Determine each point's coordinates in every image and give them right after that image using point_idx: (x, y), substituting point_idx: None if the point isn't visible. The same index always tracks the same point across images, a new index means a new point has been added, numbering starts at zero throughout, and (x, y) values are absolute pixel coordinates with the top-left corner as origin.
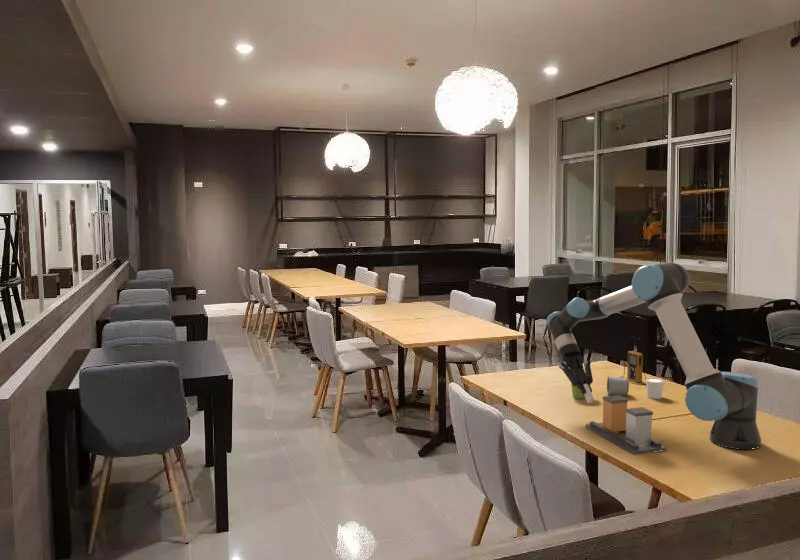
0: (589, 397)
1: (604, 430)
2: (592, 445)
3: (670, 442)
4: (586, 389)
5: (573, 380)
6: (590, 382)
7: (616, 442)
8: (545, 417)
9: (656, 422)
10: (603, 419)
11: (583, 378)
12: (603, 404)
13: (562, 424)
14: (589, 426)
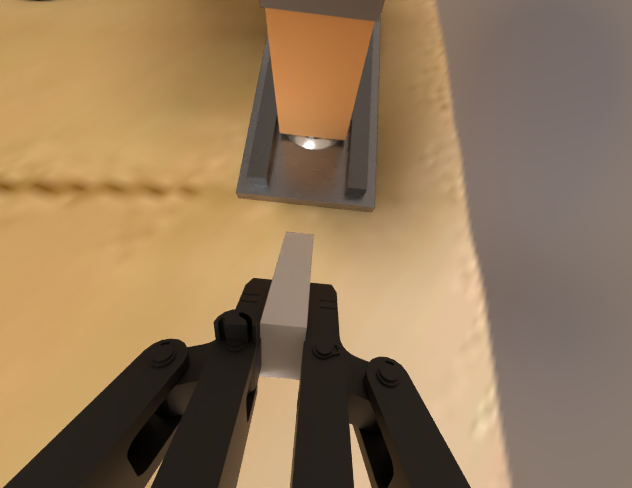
0: (312, 244)
1: (370, 101)
2: (446, 76)
3: (215, 15)
4: (308, 281)
5: (422, 421)
6: (191, 352)
7: (378, 48)
8: (472, 398)
9: (73, 153)
10: (351, 112)
11: (236, 443)
12: (367, 49)
13: (442, 275)
14: (374, 182)
